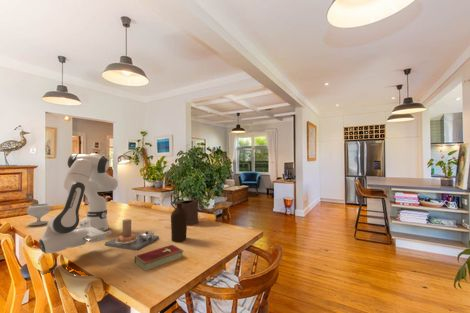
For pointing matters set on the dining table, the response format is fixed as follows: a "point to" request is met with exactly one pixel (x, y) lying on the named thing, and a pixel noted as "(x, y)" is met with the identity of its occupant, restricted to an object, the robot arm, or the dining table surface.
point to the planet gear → (126, 232)
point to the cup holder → (190, 210)
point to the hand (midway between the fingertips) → (107, 230)
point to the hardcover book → (158, 257)
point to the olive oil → (178, 223)
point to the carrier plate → (134, 241)
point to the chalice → (38, 212)
